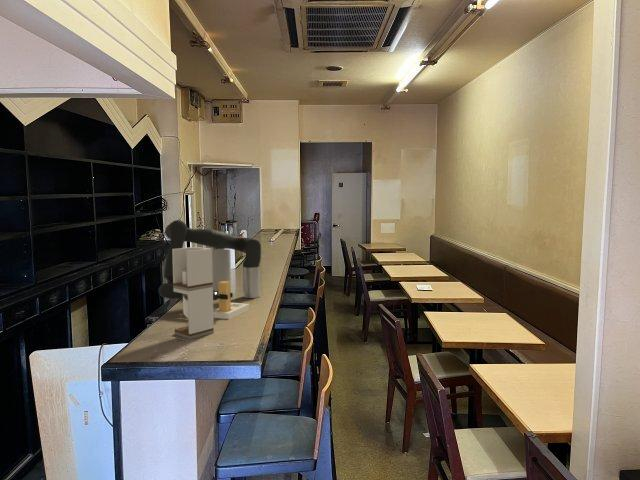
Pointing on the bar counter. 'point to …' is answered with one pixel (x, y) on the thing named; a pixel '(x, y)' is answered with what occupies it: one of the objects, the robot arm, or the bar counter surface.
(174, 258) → the white tower
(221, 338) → the bar counter surface
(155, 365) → the bar counter surface
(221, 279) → the cylinder vase
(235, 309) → the white socket board
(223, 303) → the plug
